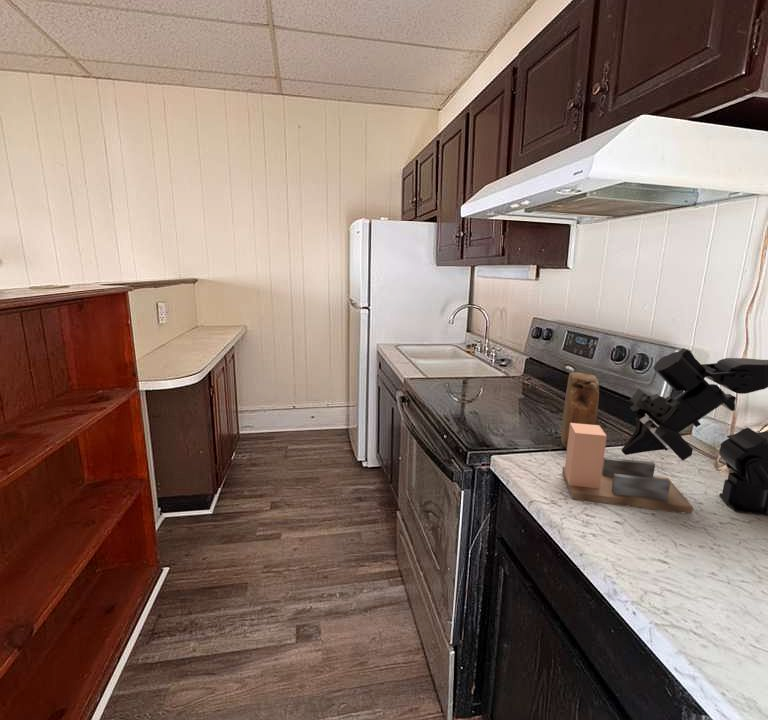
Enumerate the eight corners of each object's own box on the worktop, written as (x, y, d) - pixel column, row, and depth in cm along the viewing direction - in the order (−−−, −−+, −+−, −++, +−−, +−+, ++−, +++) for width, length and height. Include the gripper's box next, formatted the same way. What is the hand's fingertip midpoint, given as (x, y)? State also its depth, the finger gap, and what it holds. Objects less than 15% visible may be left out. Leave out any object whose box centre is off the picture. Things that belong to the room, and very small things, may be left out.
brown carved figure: (559, 437, 119) (567, 369, 115) (588, 441, 117) (597, 372, 112) (562, 453, 109) (570, 379, 105) (593, 458, 107) (603, 382, 102)
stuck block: (592, 475, 95) (599, 425, 92) (599, 488, 89) (606, 435, 86) (564, 472, 96) (569, 422, 93) (569, 485, 90) (575, 432, 88)
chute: (666, 484, 94) (670, 461, 93) (691, 513, 83) (696, 488, 82) (562, 472, 99) (564, 450, 98) (572, 498, 88) (575, 474, 87)
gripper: (645, 367, 93) (586, 411, 98) (682, 390, 76) (608, 442, 80) (680, 403, 93) (620, 445, 98) (725, 435, 75) (649, 484, 80)
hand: (623, 452), depth 89 cm, fingers closed
